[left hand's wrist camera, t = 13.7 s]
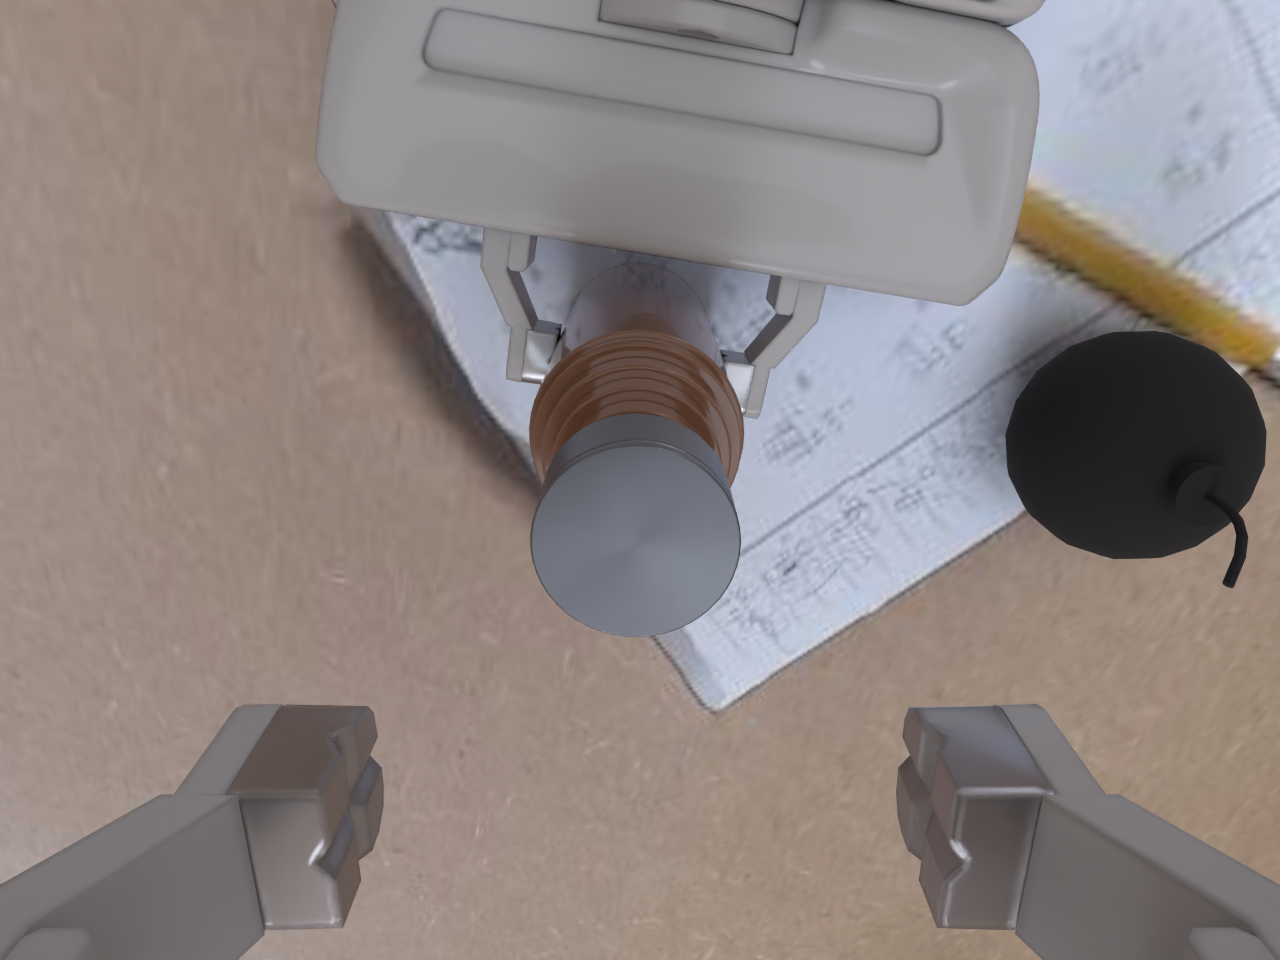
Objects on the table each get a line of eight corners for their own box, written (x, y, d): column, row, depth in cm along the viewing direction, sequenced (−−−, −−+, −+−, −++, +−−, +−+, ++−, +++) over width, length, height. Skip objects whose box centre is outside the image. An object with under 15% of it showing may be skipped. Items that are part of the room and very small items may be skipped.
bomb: (1084, 267, 33) (1314, 333, 22) (1221, 399, 35) (1499, 522, 24) (931, 426, 35) (1069, 561, 24) (1068, 542, 37) (1256, 718, 26)
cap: (534, 415, 18) (521, 449, 16) (730, 408, 18) (741, 442, 16) (548, 589, 19) (538, 640, 17) (730, 584, 19) (740, 634, 17)
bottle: (562, 265, 33) (478, 403, 16) (707, 260, 33) (782, 392, 16) (571, 405, 35) (505, 665, 18) (708, 400, 35) (777, 656, 18)
